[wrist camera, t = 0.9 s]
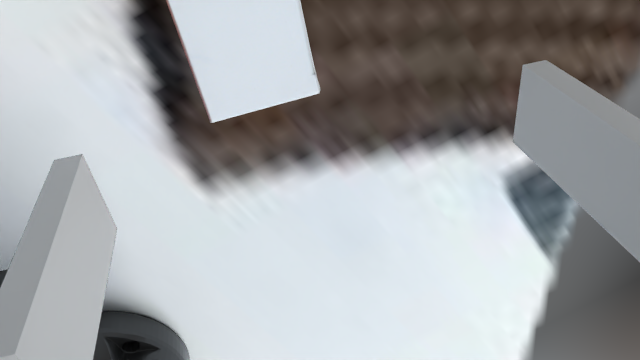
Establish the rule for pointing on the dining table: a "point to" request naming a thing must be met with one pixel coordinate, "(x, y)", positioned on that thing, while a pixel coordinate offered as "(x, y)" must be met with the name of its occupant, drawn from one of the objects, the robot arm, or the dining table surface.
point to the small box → (245, 53)
